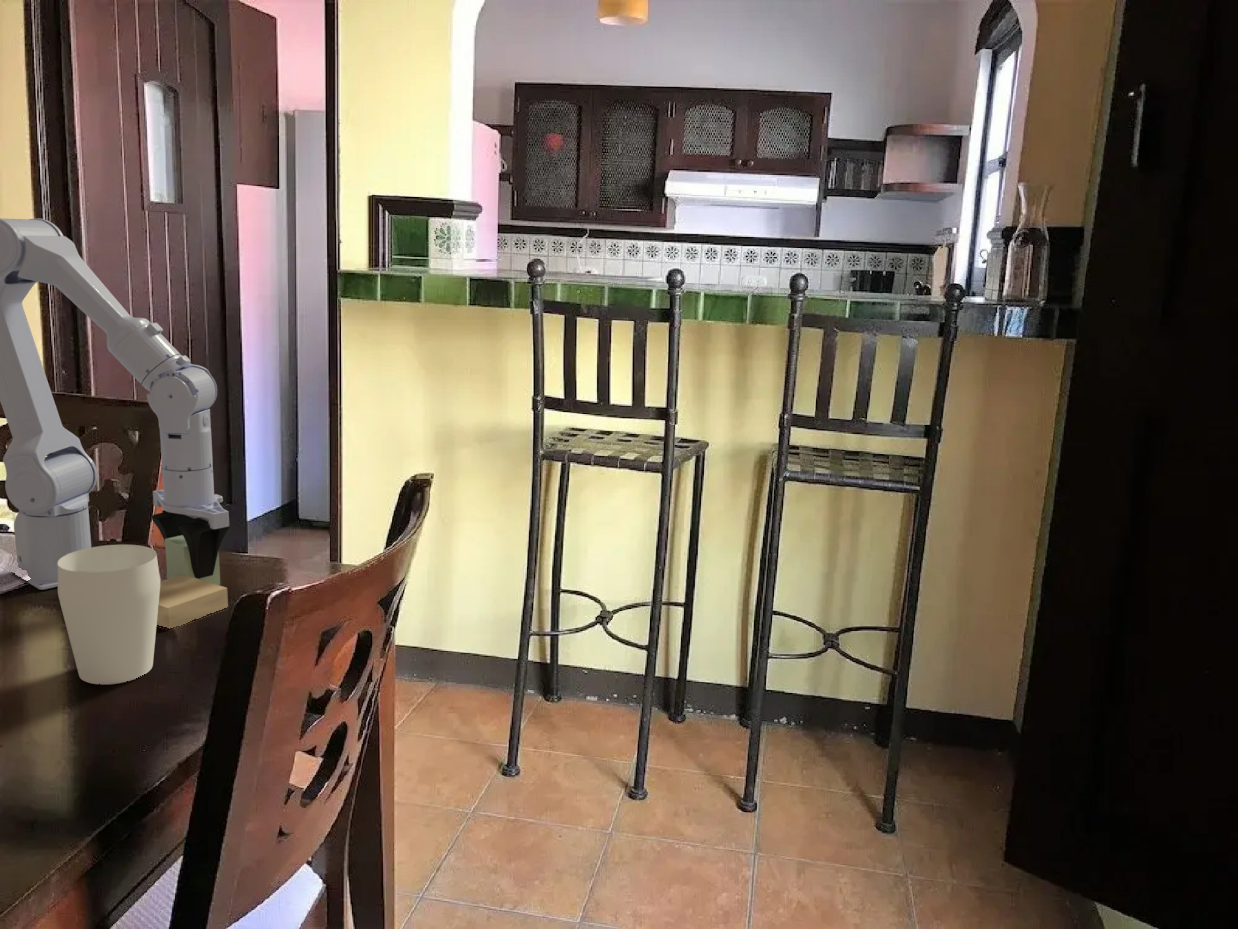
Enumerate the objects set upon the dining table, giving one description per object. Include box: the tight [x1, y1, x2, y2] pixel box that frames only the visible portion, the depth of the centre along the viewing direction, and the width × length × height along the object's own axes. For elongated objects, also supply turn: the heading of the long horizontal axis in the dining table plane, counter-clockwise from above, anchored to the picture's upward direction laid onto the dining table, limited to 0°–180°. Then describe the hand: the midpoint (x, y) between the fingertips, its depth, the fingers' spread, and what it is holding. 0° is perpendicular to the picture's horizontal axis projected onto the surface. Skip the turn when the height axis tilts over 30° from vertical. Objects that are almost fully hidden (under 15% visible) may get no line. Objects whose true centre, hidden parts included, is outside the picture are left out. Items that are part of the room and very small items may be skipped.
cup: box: [57, 544, 161, 686], centre depth 98 cm, size 9×9×12 cm
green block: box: [164, 535, 221, 586], centre depth 123 cm, size 4×4×6 cm
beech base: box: [157, 575, 229, 629], centre depth 115 cm, size 8×8×3 cm
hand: (193, 571), depth 123 cm, fingers closed on green block, 4 cm apart
